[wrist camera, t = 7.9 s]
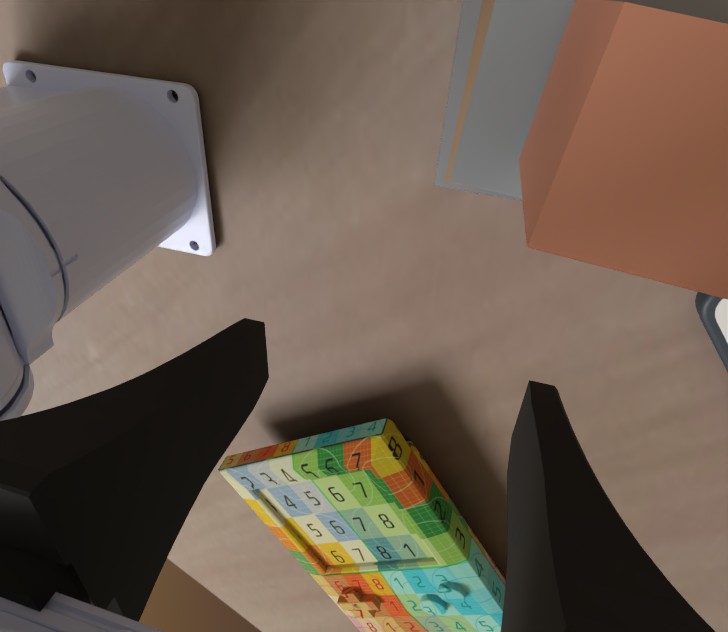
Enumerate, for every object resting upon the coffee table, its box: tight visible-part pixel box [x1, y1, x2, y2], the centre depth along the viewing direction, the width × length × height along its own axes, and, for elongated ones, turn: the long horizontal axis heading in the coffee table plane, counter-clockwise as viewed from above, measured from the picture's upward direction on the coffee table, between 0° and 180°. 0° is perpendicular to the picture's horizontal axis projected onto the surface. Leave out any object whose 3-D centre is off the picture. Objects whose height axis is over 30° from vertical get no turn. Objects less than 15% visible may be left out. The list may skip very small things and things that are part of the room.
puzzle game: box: [218, 418, 506, 632], centre depth 33 cm, size 12×5×20 cm
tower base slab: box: [434, 0, 523, 201], centre depth 18 cm, size 9×9×2 cm
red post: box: [519, 0, 728, 299], centre depth 11 cm, size 4×4×6 cm
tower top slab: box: [450, 0, 728, 199], centre depth 14 cm, size 6×6×2 cm
